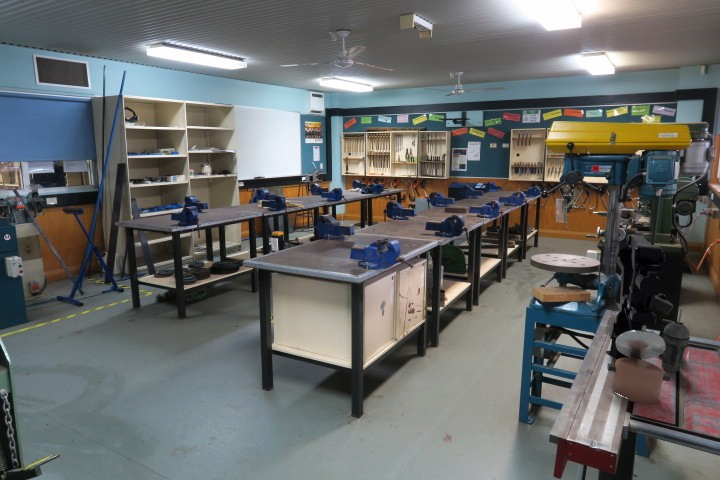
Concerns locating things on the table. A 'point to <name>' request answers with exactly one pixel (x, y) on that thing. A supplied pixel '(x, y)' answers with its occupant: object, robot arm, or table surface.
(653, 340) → the cooker lid
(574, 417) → the table surface
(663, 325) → the phone stand
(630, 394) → the cooker pot
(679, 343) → the beverage cup
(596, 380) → the table surface
